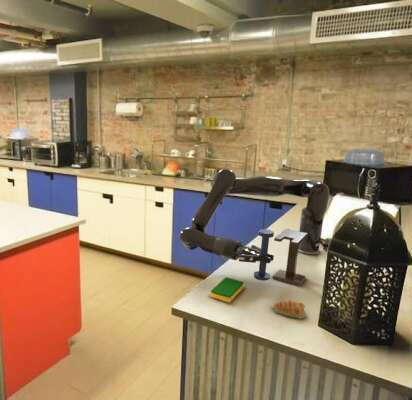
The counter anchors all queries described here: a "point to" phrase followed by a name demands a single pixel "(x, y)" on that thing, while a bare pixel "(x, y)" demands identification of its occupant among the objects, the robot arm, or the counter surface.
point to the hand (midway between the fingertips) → (271, 259)
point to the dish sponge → (227, 289)
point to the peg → (264, 251)
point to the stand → (291, 257)
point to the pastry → (290, 309)
